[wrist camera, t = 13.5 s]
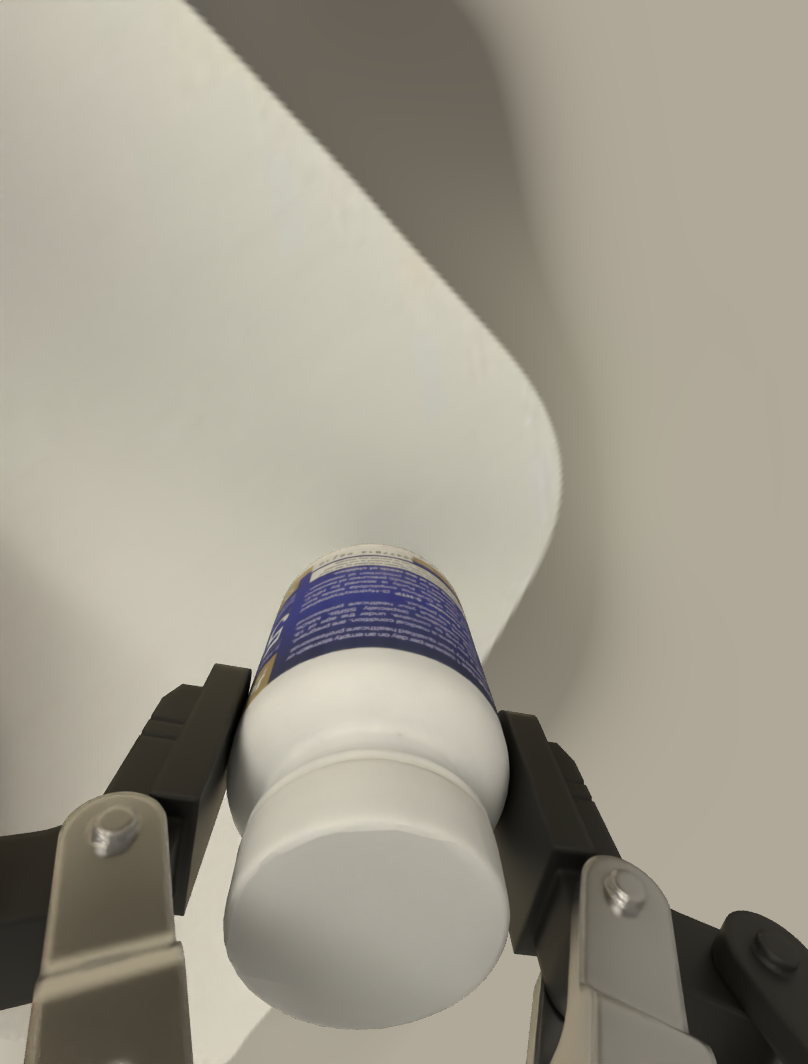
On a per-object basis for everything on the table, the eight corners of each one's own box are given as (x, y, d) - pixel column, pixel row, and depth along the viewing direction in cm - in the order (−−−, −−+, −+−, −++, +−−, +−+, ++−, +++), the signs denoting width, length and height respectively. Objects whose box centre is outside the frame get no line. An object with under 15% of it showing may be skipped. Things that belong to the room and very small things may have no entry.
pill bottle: (262, 552, 15) (123, 804, 7) (454, 528, 15) (554, 748, 7) (295, 717, 17) (217, 1084, 8) (468, 694, 17) (563, 1036, 8)
